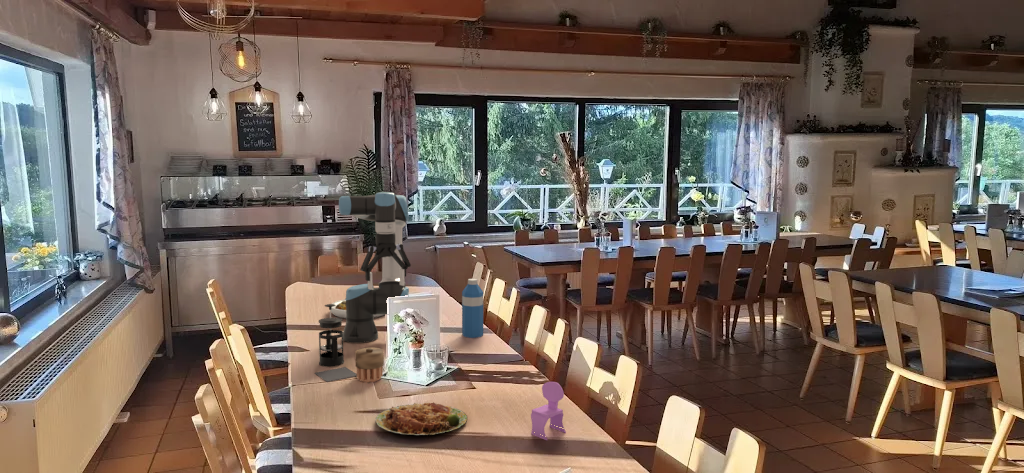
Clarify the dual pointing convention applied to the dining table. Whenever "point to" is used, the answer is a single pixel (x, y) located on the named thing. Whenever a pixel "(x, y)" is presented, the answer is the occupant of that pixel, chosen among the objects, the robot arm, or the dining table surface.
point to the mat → (336, 374)
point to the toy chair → (548, 410)
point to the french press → (331, 341)
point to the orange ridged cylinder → (369, 374)
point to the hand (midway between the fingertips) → (386, 287)
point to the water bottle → (472, 310)
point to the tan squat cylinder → (369, 358)
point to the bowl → (342, 309)
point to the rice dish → (421, 419)
